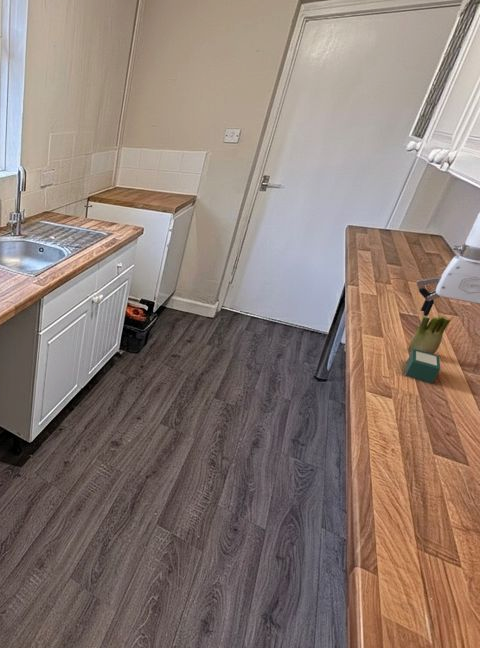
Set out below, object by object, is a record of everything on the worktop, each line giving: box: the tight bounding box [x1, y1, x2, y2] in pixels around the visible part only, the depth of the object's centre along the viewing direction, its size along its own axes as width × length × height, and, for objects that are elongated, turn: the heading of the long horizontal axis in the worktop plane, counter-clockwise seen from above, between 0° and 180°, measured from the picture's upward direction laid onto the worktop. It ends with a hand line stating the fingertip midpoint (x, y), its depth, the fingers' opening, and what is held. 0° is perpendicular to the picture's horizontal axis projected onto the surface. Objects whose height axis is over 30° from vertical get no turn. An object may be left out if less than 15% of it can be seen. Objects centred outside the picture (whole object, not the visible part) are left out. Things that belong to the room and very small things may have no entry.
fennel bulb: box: [408, 315, 452, 354], centre depth 117 cm, size 6×5×12 cm
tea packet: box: [404, 349, 441, 384], centre depth 109 cm, size 9×5×5 cm, turn 135°
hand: (452, 320), depth 103 cm, fingers open, 9 cm apart
